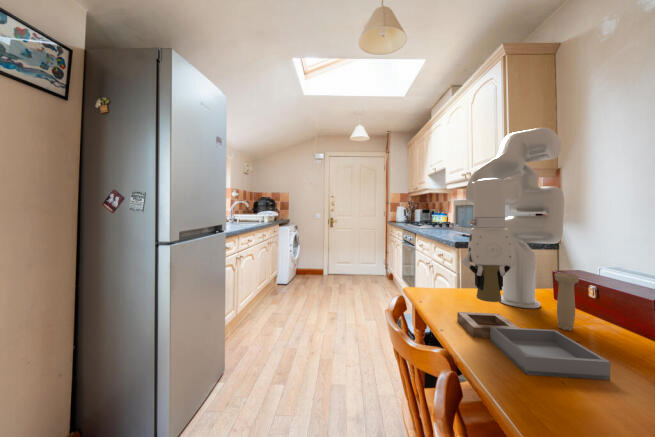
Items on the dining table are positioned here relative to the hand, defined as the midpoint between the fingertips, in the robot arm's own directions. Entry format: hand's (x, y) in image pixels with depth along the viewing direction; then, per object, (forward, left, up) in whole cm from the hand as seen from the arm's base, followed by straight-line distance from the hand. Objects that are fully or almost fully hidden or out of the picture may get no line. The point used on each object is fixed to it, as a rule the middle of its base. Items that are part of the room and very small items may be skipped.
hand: (488, 288), depth 77 cm
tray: (+16, +4, -11) cm, 20 cm away
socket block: (+1, -1, -11) cm, 11 cm away
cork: (0, 0, -3) cm, 3 cm away
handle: (-2, +21, -11) cm, 24 cm away
